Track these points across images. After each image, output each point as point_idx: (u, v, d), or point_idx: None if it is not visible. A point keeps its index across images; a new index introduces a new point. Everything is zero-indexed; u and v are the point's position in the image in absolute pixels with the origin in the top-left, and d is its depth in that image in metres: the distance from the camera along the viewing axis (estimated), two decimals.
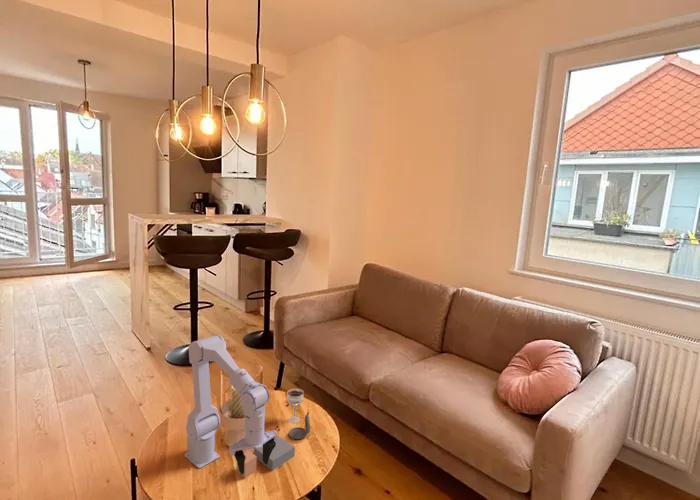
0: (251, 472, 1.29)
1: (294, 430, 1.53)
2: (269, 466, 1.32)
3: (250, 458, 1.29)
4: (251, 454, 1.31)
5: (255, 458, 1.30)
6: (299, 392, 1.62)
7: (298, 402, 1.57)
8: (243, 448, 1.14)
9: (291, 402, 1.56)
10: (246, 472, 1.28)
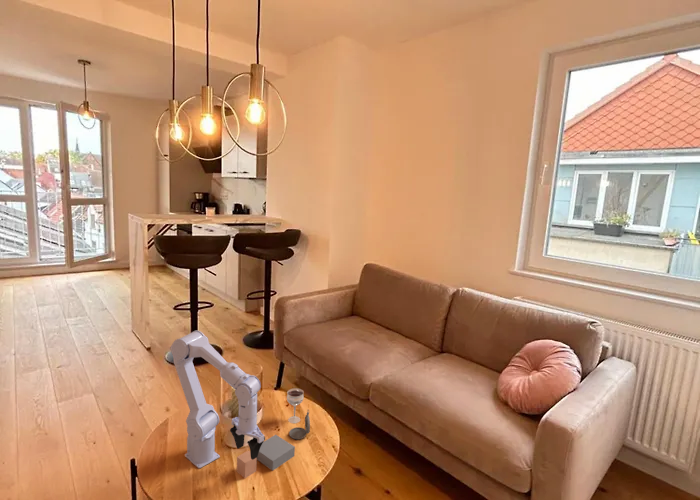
0: (251, 472, 1.29)
1: (294, 430, 1.53)
2: (269, 466, 1.32)
3: (250, 458, 1.29)
4: None
5: (255, 458, 1.30)
6: (299, 392, 1.62)
7: (298, 402, 1.57)
8: (235, 424, 1.29)
9: (291, 402, 1.56)
10: (246, 472, 1.28)
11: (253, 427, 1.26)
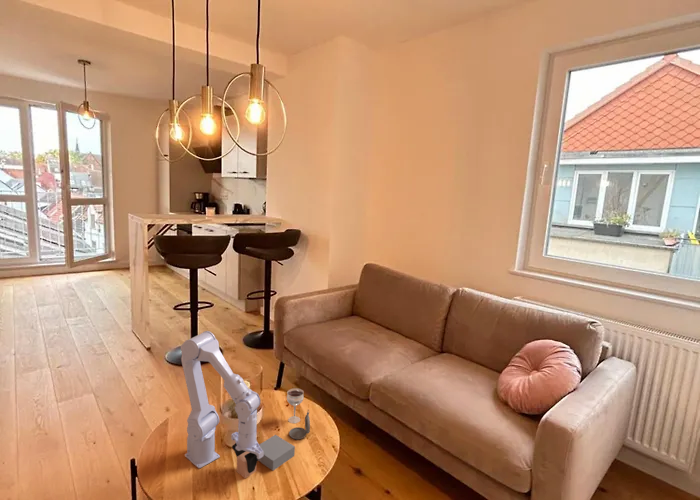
0: (251, 472, 1.29)
1: (294, 430, 1.53)
2: (269, 466, 1.32)
3: None
4: None
5: None
6: (299, 392, 1.62)
7: (298, 402, 1.57)
8: (235, 440, 1.30)
9: (291, 402, 1.56)
10: (246, 472, 1.28)
11: (253, 443, 1.27)
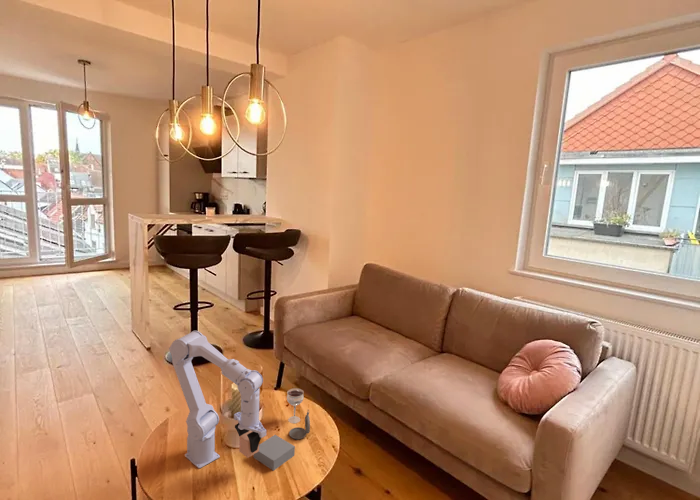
0: (254, 452, 1.29)
1: (294, 430, 1.53)
2: (270, 466, 1.32)
3: None
4: None
5: None
6: (299, 392, 1.62)
7: (298, 402, 1.57)
8: (237, 419, 1.30)
9: (291, 402, 1.56)
10: (249, 451, 1.27)
11: (255, 422, 1.27)
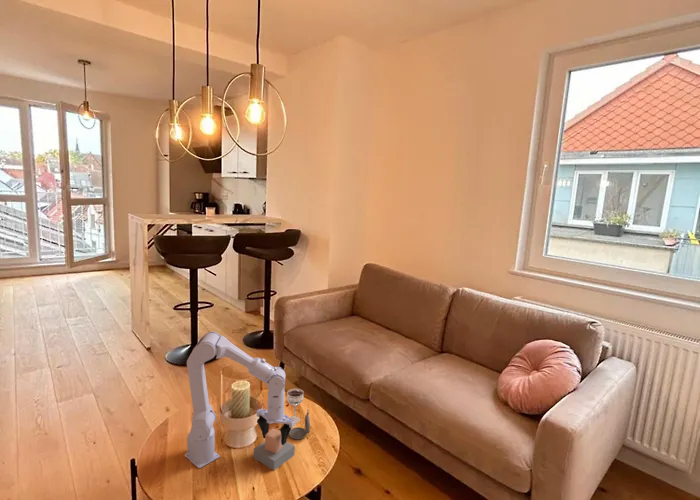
0: (280, 447, 1.37)
1: (294, 430, 1.53)
2: (270, 466, 1.32)
3: (278, 434, 1.36)
4: (277, 430, 1.38)
5: None
6: (299, 392, 1.62)
7: (298, 402, 1.57)
8: (262, 415, 1.36)
9: (291, 402, 1.56)
10: (277, 447, 1.35)
11: (282, 415, 1.35)
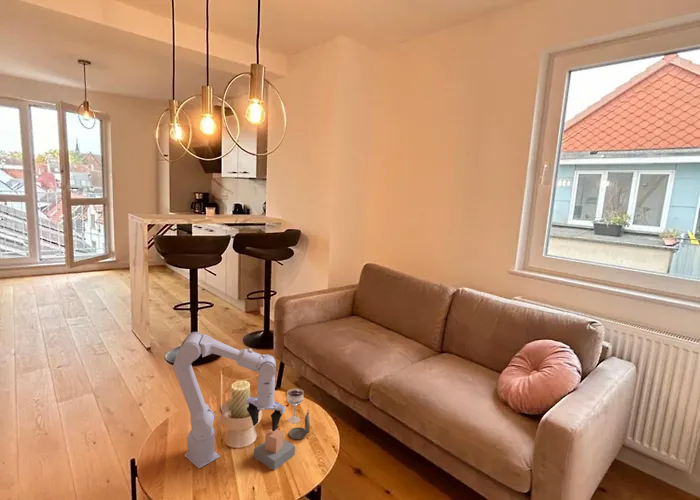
0: (280, 447, 1.37)
1: (294, 430, 1.53)
2: (271, 466, 1.32)
3: (278, 434, 1.37)
4: (277, 430, 1.38)
5: (282, 433, 1.38)
6: (299, 392, 1.62)
7: (298, 402, 1.57)
8: (252, 403, 1.36)
9: (291, 402, 1.56)
10: (277, 447, 1.35)
11: (273, 401, 1.36)
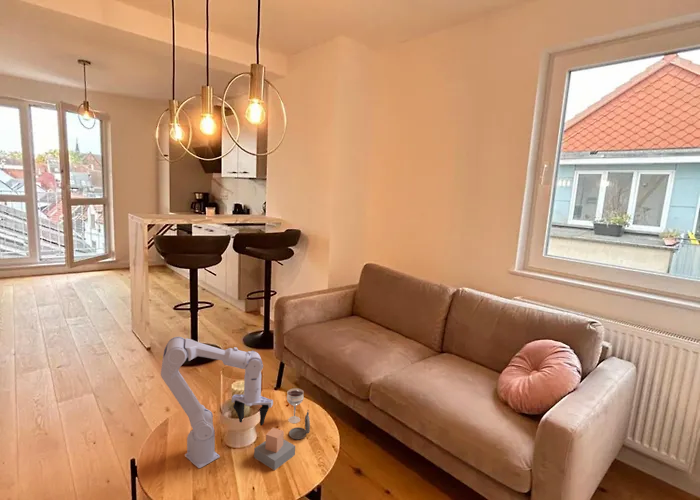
0: (280, 446, 1.37)
1: (294, 430, 1.53)
2: (271, 466, 1.33)
3: (279, 433, 1.37)
4: (278, 430, 1.39)
5: (283, 432, 1.38)
6: (299, 392, 1.62)
7: (298, 402, 1.57)
8: (239, 400, 1.37)
9: (291, 402, 1.56)
10: (277, 446, 1.35)
11: (260, 396, 1.38)
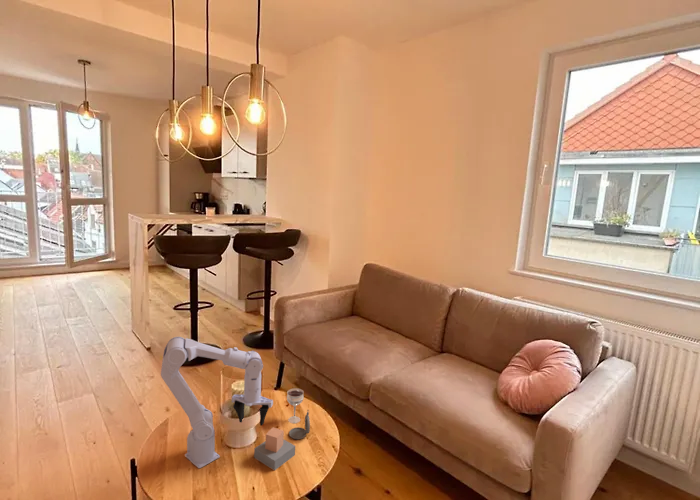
0: (280, 446, 1.38)
1: (294, 430, 1.53)
2: (271, 466, 1.32)
3: (279, 433, 1.37)
4: (277, 430, 1.39)
5: (282, 432, 1.38)
6: (299, 392, 1.62)
7: (298, 402, 1.57)
8: (239, 400, 1.37)
9: (291, 402, 1.56)
10: (277, 446, 1.36)
11: (260, 396, 1.38)
